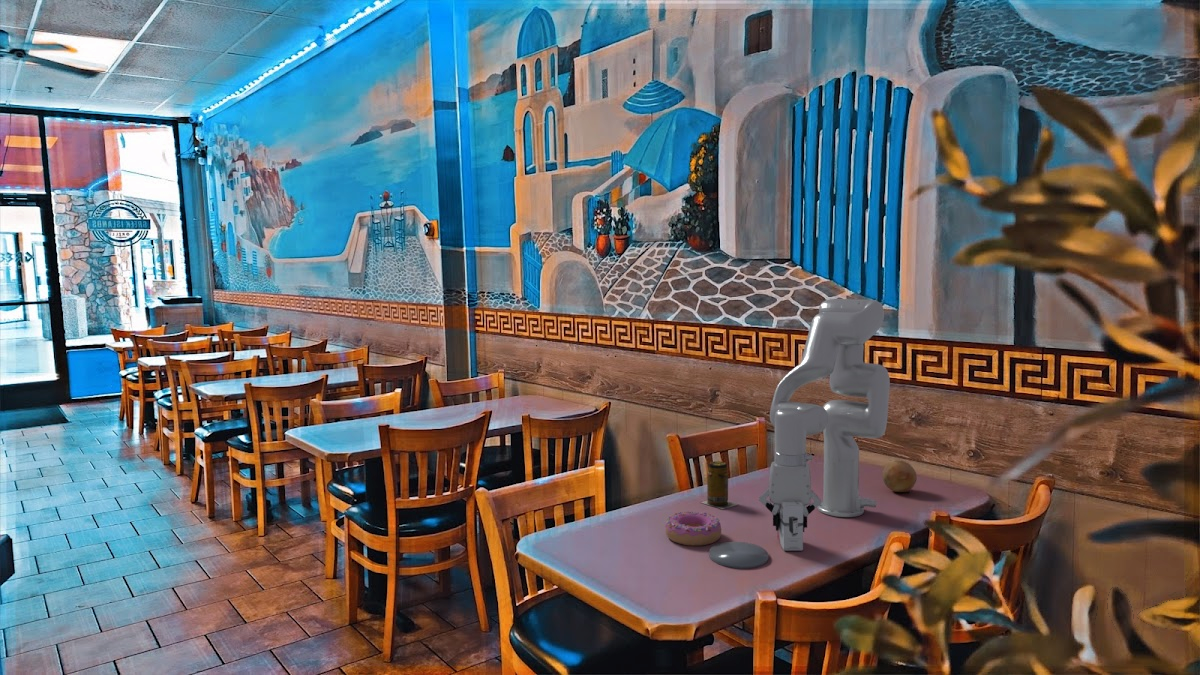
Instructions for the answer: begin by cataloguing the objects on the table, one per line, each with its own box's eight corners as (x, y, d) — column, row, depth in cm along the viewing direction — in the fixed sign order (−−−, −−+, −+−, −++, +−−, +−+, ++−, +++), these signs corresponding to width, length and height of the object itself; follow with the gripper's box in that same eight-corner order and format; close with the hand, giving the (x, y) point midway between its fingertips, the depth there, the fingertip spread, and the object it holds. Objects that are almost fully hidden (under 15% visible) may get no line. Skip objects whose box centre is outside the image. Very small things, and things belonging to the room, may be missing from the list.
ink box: (776, 537, 193) (776, 493, 191) (795, 537, 192) (795, 492, 191) (783, 551, 184) (783, 504, 183) (803, 551, 184) (803, 504, 182)
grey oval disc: (768, 547, 187) (768, 543, 187) (768, 570, 173) (768, 566, 173) (711, 543, 190) (711, 540, 190) (707, 565, 176) (707, 561, 176)
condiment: (717, 497, 227) (717, 458, 225) (738, 504, 220) (739, 464, 219) (700, 503, 222) (700, 463, 221) (722, 510, 215) (722, 469, 214)
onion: (923, 494, 227) (924, 461, 226) (898, 498, 223) (899, 465, 222) (899, 485, 236) (900, 454, 235) (874, 489, 232) (875, 457, 231)
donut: (716, 550, 186) (716, 531, 185) (660, 545, 190) (660, 526, 190) (724, 530, 200) (724, 512, 199) (671, 525, 204) (671, 507, 203)
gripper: (825, 455, 187) (824, 525, 189) (754, 453, 191) (755, 522, 193) (827, 464, 180) (826, 537, 182) (754, 461, 184) (754, 533, 186)
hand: (789, 528), depth 188 cm, fingers closed on ink box, 5 cm apart
